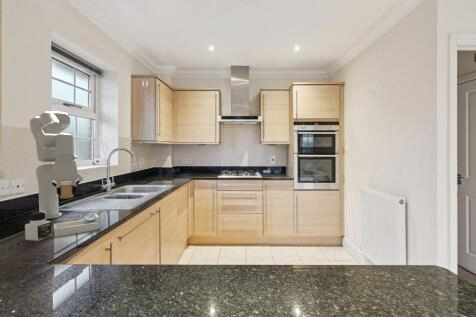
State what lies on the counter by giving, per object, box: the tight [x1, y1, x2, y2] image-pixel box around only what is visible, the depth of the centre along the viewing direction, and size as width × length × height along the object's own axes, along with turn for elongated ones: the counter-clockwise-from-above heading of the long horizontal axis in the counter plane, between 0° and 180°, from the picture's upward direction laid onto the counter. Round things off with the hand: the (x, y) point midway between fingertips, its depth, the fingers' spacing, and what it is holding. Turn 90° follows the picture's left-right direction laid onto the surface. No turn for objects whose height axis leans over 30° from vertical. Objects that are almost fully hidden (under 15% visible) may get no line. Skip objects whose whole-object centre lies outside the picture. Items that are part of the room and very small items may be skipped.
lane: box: [53, 213, 101, 237], centre depth 138 cm, size 11×19×6 cm, turn 126°
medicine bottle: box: [24, 211, 53, 242], centre depth 126 cm, size 7×7×12 cm
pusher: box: [83, 216, 95, 224], centre depth 141 cm, size 8×4×4 cm, turn 36°
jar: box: [59, 181, 74, 199], centre depth 137 cm, size 6×6×8 cm
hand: (66, 194), depth 137 cm, fingers closed on jar, 5 cm apart
